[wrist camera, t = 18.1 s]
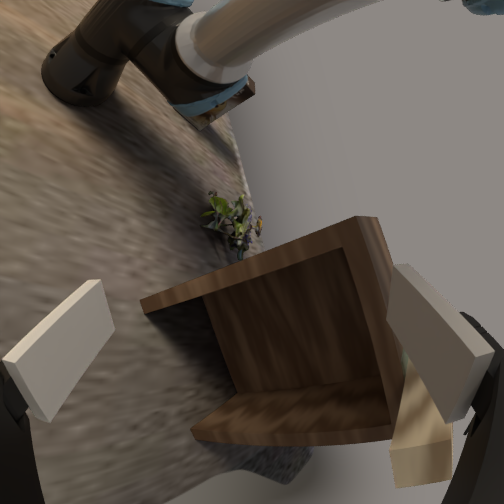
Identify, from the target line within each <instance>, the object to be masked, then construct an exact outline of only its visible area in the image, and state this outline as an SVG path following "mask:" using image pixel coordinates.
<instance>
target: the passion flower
mask: <svg viewBox="0 0 504 504" xmlns="http://www.w3.org/2000/svg"><path fill="white" fill-rule="evenodd" d="M208 194H209V195H211V194H213V197H211V199H210V200H209V203H210V204H211V205H212V207H213V208H214V210H215V211H210V212H205V213H203V214H202V215H201V217H204V216H209V215H211V216H214V217H215V221H213V222H211V223H210V224H208V225H204V226H203V225H200V226H201V227H206V228H211V229H214V230H215V231H221V232H222V233H224V234H226V235H228V236H229V237H228V242H229V243H230V250H233V249H234V248H235V247H236V248H238V250H239V251H238V254H237V258H238V260H239V261H242V260H243V253H244V252H245V251H246V250H248V249H249V245H248V244H249V242H251V243H252V240H251V235H250V233H251V231H250V230H251V229H256V231H255V232H256V234H257V236H258V237H259V236H260V233H261V230H262V219H261V216H259V217H258V221H257V226H252V225H251V224H250V223H251V218H252V217H251V216H252V215H251V216H250V214H251V212H252V210H250V207H249V208H248V204H246V207H245V208H244V205H243V197H244V195H241V196H240V197H239V201H231V203H232V204H233V205H234V207H235V210H233V209H232V208H230V207H229V206H228V204H229V203H228V202H227V201H226V200H225V199H223V198H219V197H216V196H217V192H211V191H210V192H209V193H208ZM214 195H215V196H214ZM228 207H229V208H228ZM232 210H233V211H232ZM231 211H232V212H231ZM218 216H219V217H220V223H219V224H218V221H217V217H218ZM236 216H237V217H238V218H237V219H236V220H235V219H234V217H236ZM226 218H228V219H229V220H230V221H231V222H232V223H233V224H228V225H233V228H234V232H233V233H232V234H231V235H230V234H228V233H226V232H224V231H222V230H221V229H220V227H221V226H227V225H223V224H222V221H223V220H224V219H226Z"/></svg>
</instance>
